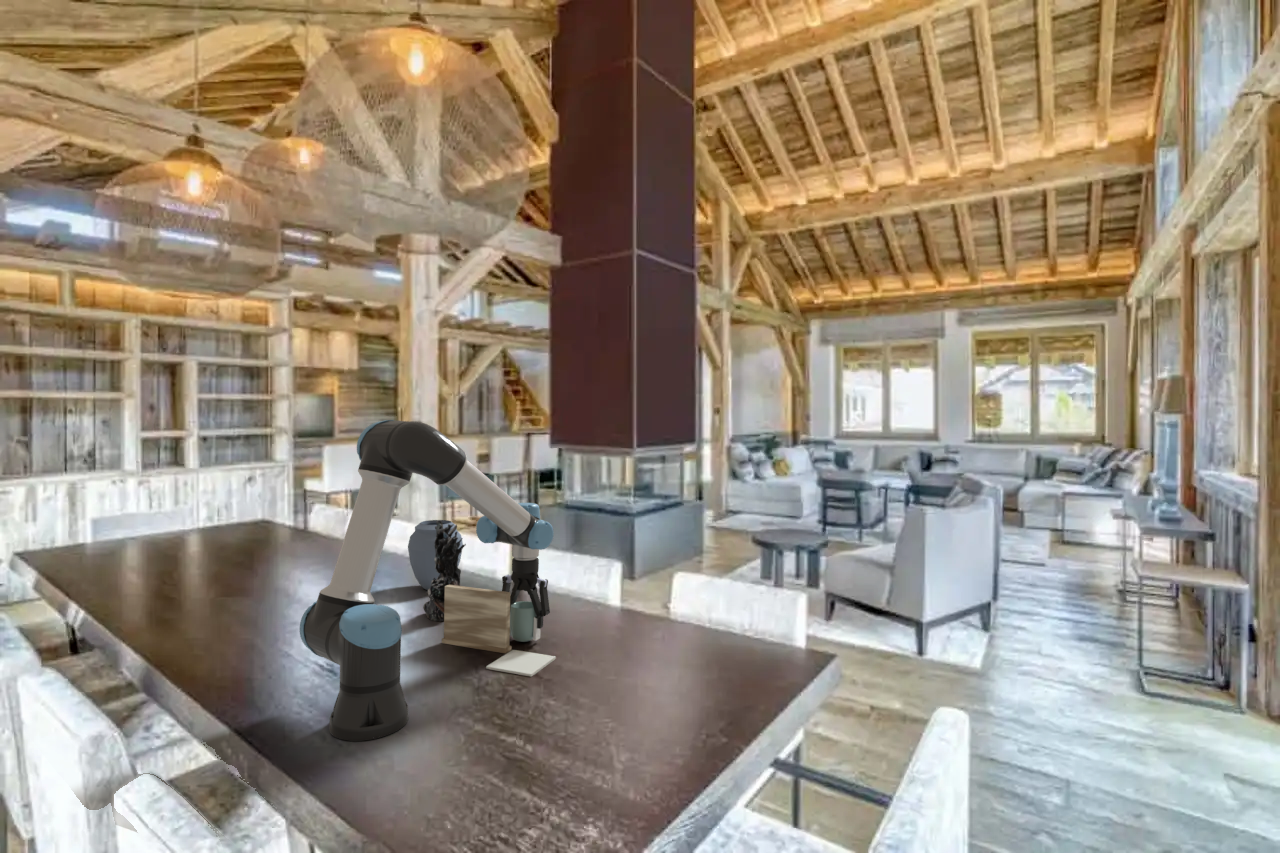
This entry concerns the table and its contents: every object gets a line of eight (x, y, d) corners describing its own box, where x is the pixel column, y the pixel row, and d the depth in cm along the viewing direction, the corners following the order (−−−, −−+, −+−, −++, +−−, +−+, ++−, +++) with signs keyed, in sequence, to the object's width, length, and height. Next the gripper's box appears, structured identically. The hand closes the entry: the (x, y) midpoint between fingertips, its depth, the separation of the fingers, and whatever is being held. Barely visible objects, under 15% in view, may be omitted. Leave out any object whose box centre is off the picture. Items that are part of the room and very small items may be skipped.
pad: (531, 676, 162) (531, 674, 162) (486, 668, 166) (486, 666, 166) (555, 658, 174) (555, 656, 174) (513, 651, 178) (513, 649, 178)
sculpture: (410, 621, 203) (411, 525, 202) (436, 607, 217) (437, 518, 217) (451, 625, 199) (453, 527, 199) (475, 611, 214) (477, 520, 214)
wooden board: (505, 653, 177) (506, 594, 177) (441, 643, 184) (442, 586, 184) (511, 650, 180) (512, 592, 179) (447, 639, 187) (448, 584, 187)
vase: (408, 582, 248) (409, 518, 248) (461, 580, 254) (462, 517, 254) (406, 596, 230) (407, 527, 229) (463, 593, 236) (464, 525, 235)
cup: (531, 645, 182) (532, 609, 182) (505, 642, 184) (506, 607, 184) (541, 636, 190) (542, 602, 190) (515, 634, 191) (516, 600, 191)
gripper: (564, 558, 187) (562, 638, 187) (501, 551, 194) (499, 628, 194) (551, 563, 179) (549, 646, 180) (487, 556, 187) (485, 636, 187)
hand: (523, 637), depth 187 cm, fingers closed on cup, 8 cm apart
